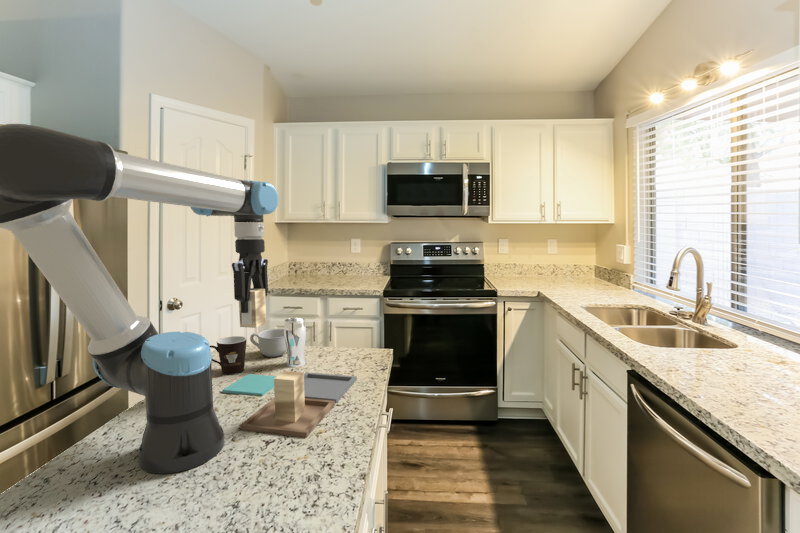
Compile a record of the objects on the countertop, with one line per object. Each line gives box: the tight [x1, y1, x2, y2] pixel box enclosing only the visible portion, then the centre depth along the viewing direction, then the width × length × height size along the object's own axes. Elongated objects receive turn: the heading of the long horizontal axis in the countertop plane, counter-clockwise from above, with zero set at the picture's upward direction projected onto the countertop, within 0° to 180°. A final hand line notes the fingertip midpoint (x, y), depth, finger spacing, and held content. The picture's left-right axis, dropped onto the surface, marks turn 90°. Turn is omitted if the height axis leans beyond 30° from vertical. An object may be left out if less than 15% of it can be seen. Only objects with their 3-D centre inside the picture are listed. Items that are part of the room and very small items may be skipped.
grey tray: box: [304, 371, 358, 404], centre depth 111 cm, size 16×16×1 cm
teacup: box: [249, 328, 287, 358], centre depth 142 cm, size 14×11×8 cm
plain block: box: [273, 370, 305, 422], centre depth 94 cm, size 5×5×10 cm
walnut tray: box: [239, 397, 336, 438], centre depth 95 cm, size 16×16×1 cm
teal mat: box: [222, 373, 278, 397], centre depth 113 cm, size 12×12×1 cm
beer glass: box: [283, 316, 307, 368], centre depth 131 cm, size 7×7×15 cm
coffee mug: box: [210, 335, 247, 376], centre depth 125 cm, size 12×9×10 cm
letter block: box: [238, 287, 267, 329], centre depth 111 cm, size 5×5×10 cm
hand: (253, 321), depth 112 cm, fingers closed on letter block, 5 cm apart
